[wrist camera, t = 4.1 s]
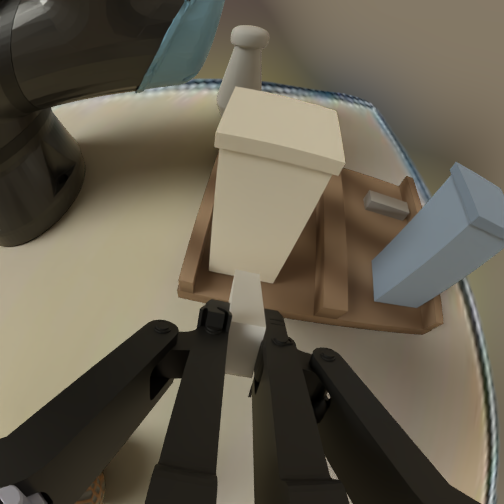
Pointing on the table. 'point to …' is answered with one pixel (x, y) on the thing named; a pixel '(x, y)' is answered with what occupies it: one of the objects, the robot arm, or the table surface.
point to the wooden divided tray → (325, 258)
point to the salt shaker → (243, 62)
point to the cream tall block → (269, 178)
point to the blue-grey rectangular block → (442, 241)
